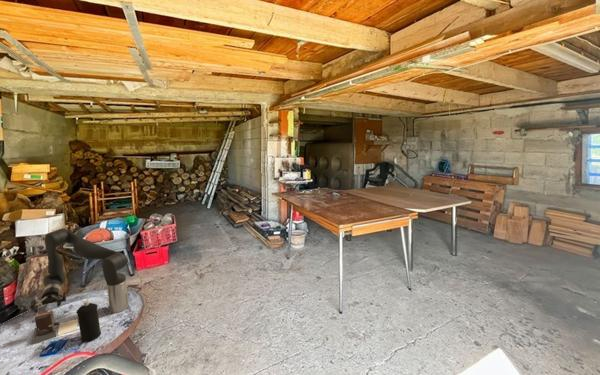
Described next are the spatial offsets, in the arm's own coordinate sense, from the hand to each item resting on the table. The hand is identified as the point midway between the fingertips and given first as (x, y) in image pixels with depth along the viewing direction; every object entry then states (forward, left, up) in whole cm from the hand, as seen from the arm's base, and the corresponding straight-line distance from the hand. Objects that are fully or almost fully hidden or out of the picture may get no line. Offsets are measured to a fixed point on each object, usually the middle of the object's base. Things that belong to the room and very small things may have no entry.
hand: (47, 308), depth 144 cm
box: (0, +11, -8) cm, 14 cm away
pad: (-8, +11, -8) cm, 16 cm away
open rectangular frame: (0, +11, -8) cm, 14 cm away
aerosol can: (-18, +26, -8) cm, 33 cm away
